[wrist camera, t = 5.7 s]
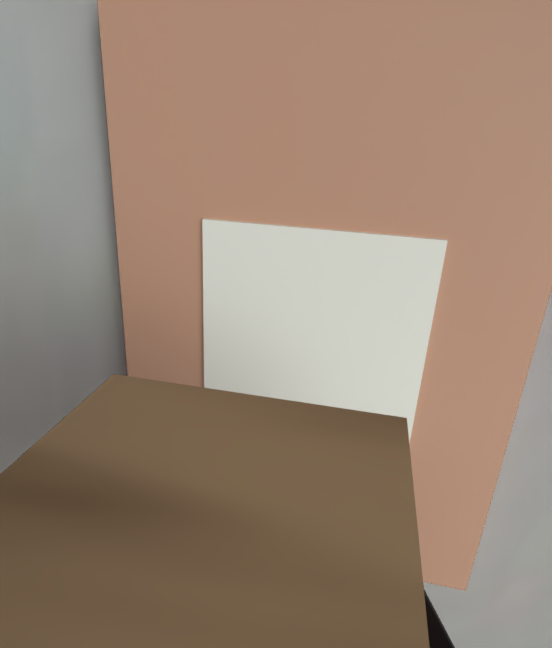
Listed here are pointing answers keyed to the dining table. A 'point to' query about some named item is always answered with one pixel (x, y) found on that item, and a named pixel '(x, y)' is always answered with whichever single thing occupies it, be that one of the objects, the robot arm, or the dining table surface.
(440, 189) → the baseplate
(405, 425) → the walnut block
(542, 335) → the dining table surface
